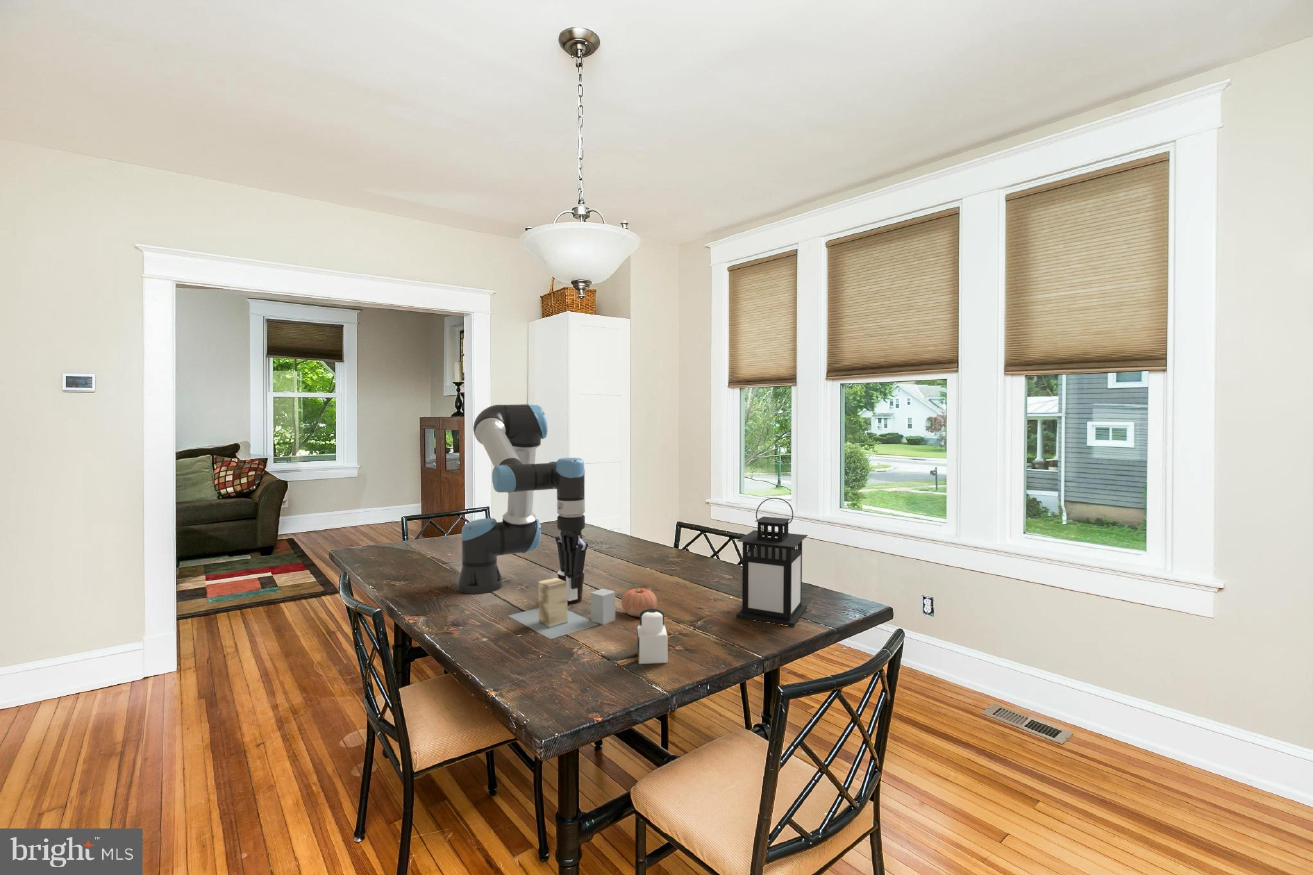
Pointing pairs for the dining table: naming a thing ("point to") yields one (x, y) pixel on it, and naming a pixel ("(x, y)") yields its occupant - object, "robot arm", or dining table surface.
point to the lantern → (772, 573)
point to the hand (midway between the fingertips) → (571, 599)
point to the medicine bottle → (652, 637)
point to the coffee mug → (579, 589)
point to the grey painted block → (603, 606)
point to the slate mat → (573, 625)
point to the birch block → (552, 602)
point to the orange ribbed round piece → (638, 601)
